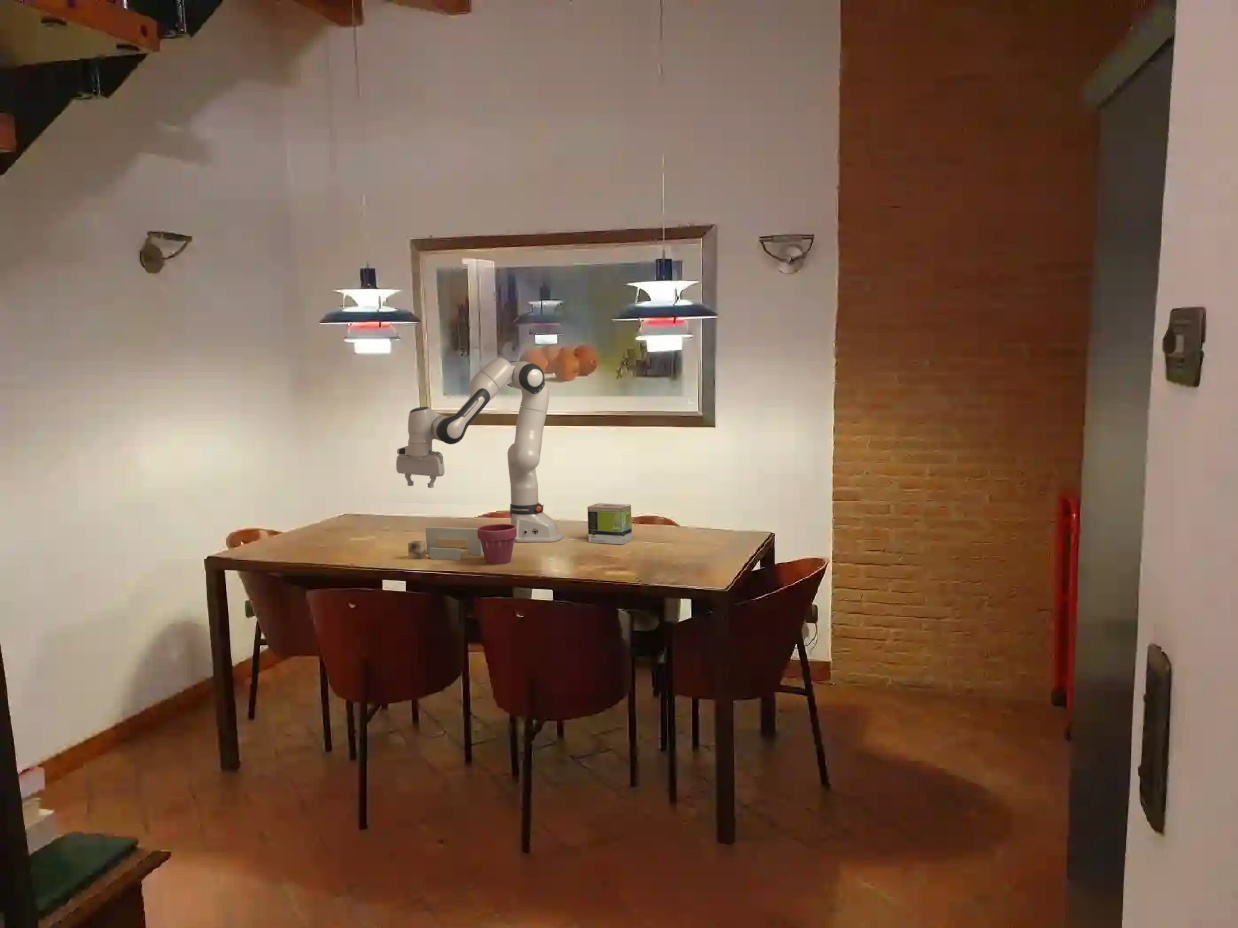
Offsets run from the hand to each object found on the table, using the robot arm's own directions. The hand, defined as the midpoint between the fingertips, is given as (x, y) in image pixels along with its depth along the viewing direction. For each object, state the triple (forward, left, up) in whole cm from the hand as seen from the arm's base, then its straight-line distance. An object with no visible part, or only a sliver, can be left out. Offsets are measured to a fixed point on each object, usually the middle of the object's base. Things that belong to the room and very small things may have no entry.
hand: (420, 486), depth 352 cm
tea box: (-66, -32, -26) cm, 77 cm away
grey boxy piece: (-13, +3, -26) cm, 29 cm away
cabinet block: (-1, +7, -26) cm, 27 cm away
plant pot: (-33, +8, -26) cm, 43 cm away
